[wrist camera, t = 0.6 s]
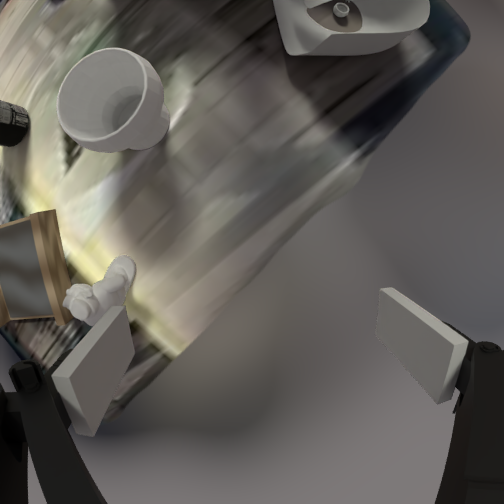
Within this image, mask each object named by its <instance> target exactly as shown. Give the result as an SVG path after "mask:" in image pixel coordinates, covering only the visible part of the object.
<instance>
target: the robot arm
mask: <svg viewBox="0 0 504 504" xmlns="http://www.w3.org/2000/svg"><path fill="white" fill-rule="evenodd" d="M375 336H376V337H377V338H378V339H379V340H380V341H381V342H382V343H383V344H384V345H385V347H386V348H387V349H388V350H389V351H390V352H391V353H392V354H393V355H394V356H395V358H396V359H397V360H398V361H399V362H400V363H401V364H402V365H403V366H404V367H405V368H406V370H407V371H408V372H409V373H410V374H411V375H412V376H413V378H414V379H415V380H416V381H417V382H418V383H419V384H420V385H421V387H422V388H424V390H425V391H426V392H427V393H428V395H429V396H430V397H431V398H432V399H433V400H434V401H435V403H436V404H440V403H443V402H445V401H448V400H451V398H452V396H453V392H454V390H455V387H456V388H457V389H458V390H459V391H460V394H459V397H458V400H457V403H456V405H455V408H454V411H453V413H455V412H456V415H455V421H454V427H453V433H452V438H451V443H450V448H449V452H448V457H447V461H446V465H445V469H444V473H443V477H442V481H441V484H440V488H439V491H438V494H437V498H436V501H435V504H504V350H501V348H500V347H499V346H498V345H496V344H494V343H492V342H483V341H482V342H478V343H475V342H474V341H473V340H471V339H470V338H468V337H467V336H466V335H464V334H463V333H461V332H460V331H459V330H457V329H456V328H454V327H453V326H452V325H450V324H448V323H445V322H443V321H440V320H439V319H437V318H436V317H434V316H433V315H432V314H430V313H429V312H427V311H426V310H424V309H423V308H421V307H420V306H418V305H417V304H416V303H414V302H413V301H411V300H410V299H408V298H407V297H406V296H404V295H403V294H401V293H400V292H398V291H397V290H395V289H394V288H392V287H390V288H382V289H380V292H379V305H378V315H377V324H376V333H375ZM134 355H135V350H134V345H133V341H132V336H131V332H130V327H129V322H128V317H127V312H126V306H112V307H111V308H110V309H109V310H108V311H107V312H106V313H105V314H104V315H103V317H102V318H101V319H100V320H99V321H98V322H97V323H96V324H95V325H94V327H93V328H92V329H91V330H90V331H89V332H88V333H87V334H86V336H85V337H84V338H83V339H82V340H81V341H80V342H79V344H78V345H77V346H76V347H75V348H74V349H70V350H68V351H66V352H65V353H63V354H62V355H61V356H60V357H59V358H58V359H57V361H56V362H55V363H54V364H53V366H51V367H50V369H49V370H48V371H47V372H46V373H45V374H44V375H43V372H42V370H41V367H40V364H39V363H38V362H37V361H35V360H23V361H21V362H18V363H16V364H14V365H13V366H12V367H11V368H10V369H9V375H10V377H11V380H12V382H13V384H14V387H15V389H16V391H17V392H5V391H4V389H3V387H2V385H1V384H0V504H28V481H27V480H28V472H27V471H28V470H27V468H28V447H29V451H30V454H31V458H32V461H33V464H34V468H35V471H36V474H37V477H38V480H39V483H40V486H41V488H42V491H43V494H44V496H45V499H46V502H47V504H107V502H106V501H105V499H104V497H103V496H102V494H101V492H100V491H99V489H98V487H97V486H96V484H95V482H94V480H93V479H92V477H91V475H90V473H89V471H88V470H87V468H86V466H85V464H84V462H83V460H82V458H81V456H80V454H79V452H78V450H77V448H76V446H75V444H74V442H73V439H72V437H71V435H70V433H69V431H68V428H69V426H70V424H71V423H72V425H73V427H74V429H75V431H76V433H77V434H81V435H86V436H93V437H94V435H95V433H96V431H97V429H98V426H99V424H100V422H101V420H102V418H103V416H104V414H105V412H106V410H107V408H108V406H109V404H110V402H111V400H112V398H113V396H114V394H115V392H116V390H117V388H118V386H119V384H120V382H121V380H122V378H123V376H124V374H125V372H126V370H127V368H128V366H129V364H130V362H131V360H132V358H133V356H134Z"/></svg>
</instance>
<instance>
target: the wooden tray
mask: <svg viewBox="0 0 504 504" xmlns="http://www.w3.org/2000/svg"><path fill="white" fill-rule="evenodd" d="M71 287H72V285H71V281H70V277H69V273H68V269H67V265H66V261H65V257H64V252H63V247H62V243H61V238H60V233H59V227H58V222H57V216H56V210H55V209H54V210H48V211H42V212H37V213H34V214H30V216H29V217H25V218H22V219H19V220H15V221H12V222H9V223H6V224H3V225H0V327H1V326H3V325H4V324H6V323H7V322H8V321H10V320H18V319H31V318H44V317H55V320H56V323H57V326H59V325H66V324H67V323H68V322H69V321H70V320H71V319H72V318H73V317H74V316H73V315H72V314H71V312H70V310H69V309H67V307H63V301H64V299H65V297H66V296H67V294H66V290H67V289H70V288H71Z"/></svg>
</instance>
